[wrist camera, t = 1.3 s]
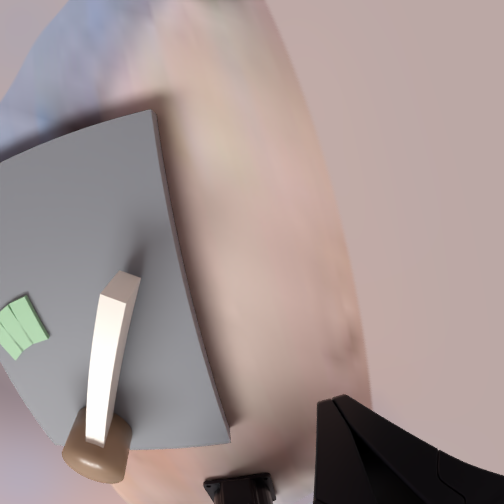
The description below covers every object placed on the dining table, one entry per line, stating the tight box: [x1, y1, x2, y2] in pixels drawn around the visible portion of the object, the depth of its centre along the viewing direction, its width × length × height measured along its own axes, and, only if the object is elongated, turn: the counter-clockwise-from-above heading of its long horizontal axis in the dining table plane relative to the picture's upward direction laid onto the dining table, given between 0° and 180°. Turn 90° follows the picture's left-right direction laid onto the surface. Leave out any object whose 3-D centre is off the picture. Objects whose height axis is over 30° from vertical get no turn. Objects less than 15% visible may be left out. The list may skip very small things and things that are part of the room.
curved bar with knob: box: [62, 270, 141, 484], centre depth 14 cm, size 15×4×4 cm, turn 159°
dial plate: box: [0, 109, 231, 450], centre depth 16 cm, size 22×16×2 cm
